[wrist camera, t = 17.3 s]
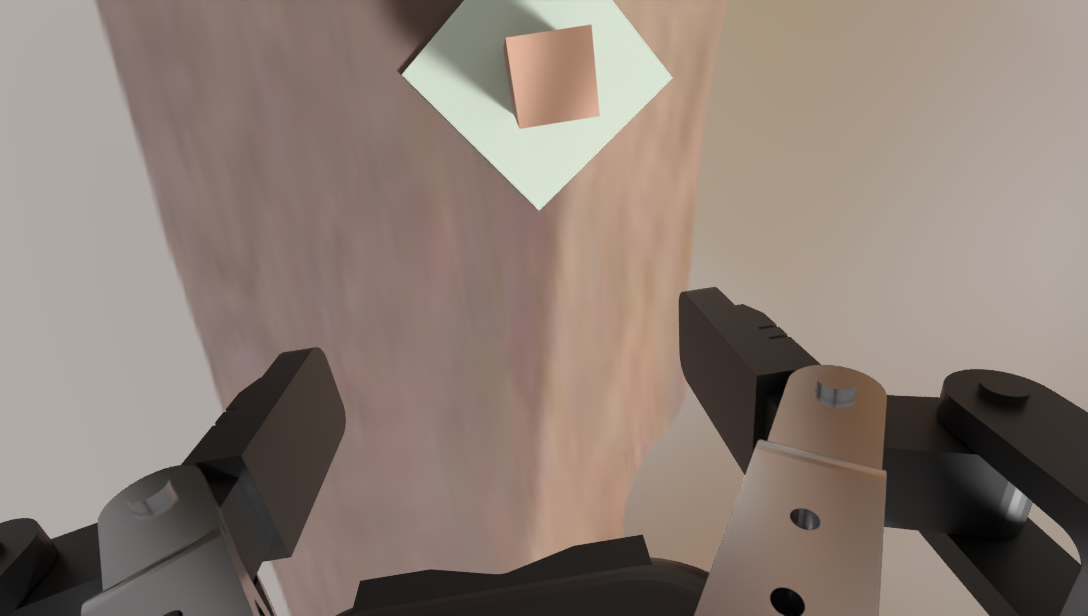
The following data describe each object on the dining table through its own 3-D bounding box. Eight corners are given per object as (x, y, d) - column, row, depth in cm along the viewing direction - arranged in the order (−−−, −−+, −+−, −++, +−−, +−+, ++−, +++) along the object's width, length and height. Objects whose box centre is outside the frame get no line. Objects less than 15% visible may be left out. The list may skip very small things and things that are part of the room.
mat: (402, 74, 34) (401, 74, 34) (540, -90, 31) (541, -92, 31) (538, 209, 39) (539, 210, 38) (670, 77, 36) (672, 77, 35)
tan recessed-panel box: (513, 115, 35) (519, 128, 26) (503, 47, 34) (505, 37, 24) (573, 105, 35) (599, 116, 26) (566, 37, 34) (591, 24, 25)
